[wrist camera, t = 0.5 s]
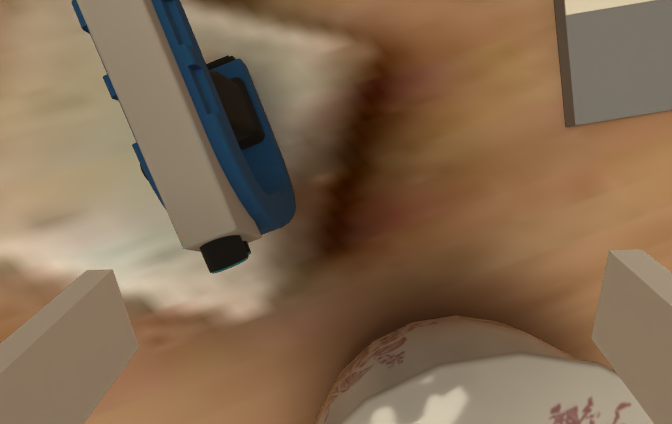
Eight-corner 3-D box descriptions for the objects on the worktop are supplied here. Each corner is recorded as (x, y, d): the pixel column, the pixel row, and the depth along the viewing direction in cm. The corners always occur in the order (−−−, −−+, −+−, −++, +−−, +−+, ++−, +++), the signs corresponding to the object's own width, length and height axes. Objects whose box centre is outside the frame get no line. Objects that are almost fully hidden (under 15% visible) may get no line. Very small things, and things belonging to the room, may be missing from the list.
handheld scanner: (238, 33, 35) (108, -122, 16) (307, 206, 37) (265, 259, 18) (190, 53, 36) (4, -74, 16) (260, 224, 37) (169, 295, 18)
